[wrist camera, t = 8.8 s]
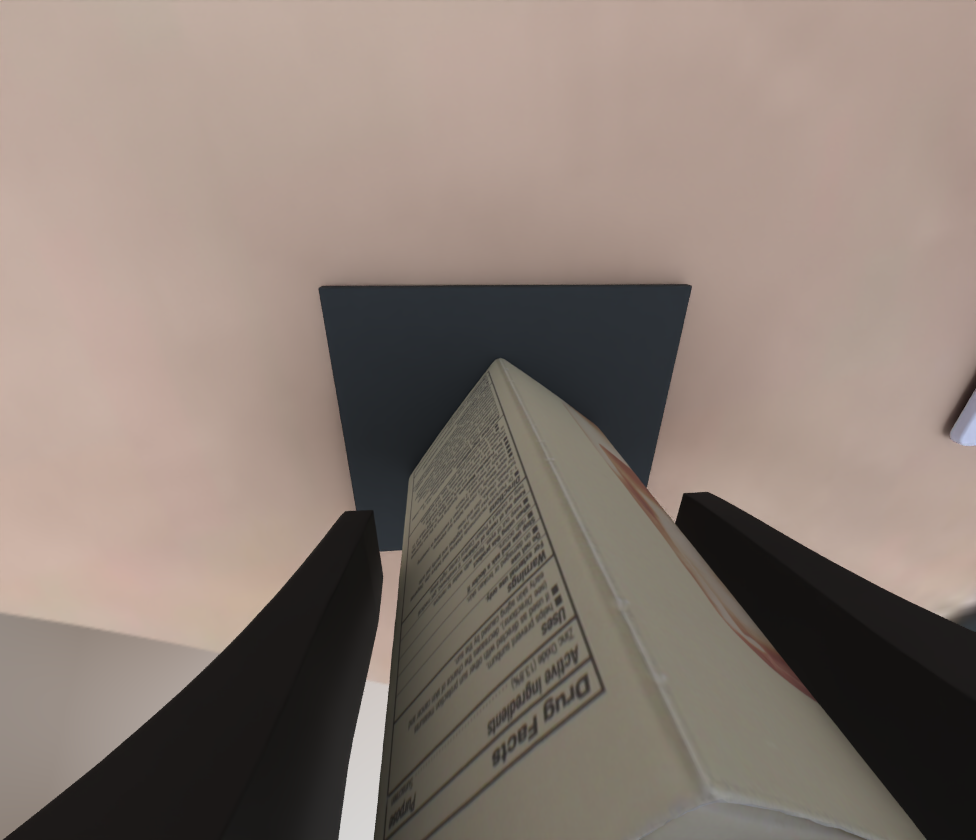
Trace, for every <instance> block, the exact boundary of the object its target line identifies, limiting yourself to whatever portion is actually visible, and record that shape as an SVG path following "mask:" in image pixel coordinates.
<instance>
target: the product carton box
mask: <svg viewBox="0 0 976 840" xmlns="http://www.w3.org/2000/svg"><path fill="white" fill-rule="evenodd" d="M374 840H926V838H925V837H924V836H923V834H922V833H921V832H920V831H919V829H918V828H917V827H916V825H915V824H914V823H913V821H912V820H911V819H910V818H909V816H908V815H907V814H906V812H905V811H904V810H903V809H902V807H901V806H900V805H899V804H898V802H897V801H896V800H895V799H894V797H893V796H892V795H891V794H890V792H889V791H888V790H887V789H886V787H885V786H884V785H883V784H882V782H881V781H880V780H879V779H878V777H877V776H876V775H875V774H874V772H873V771H872V770H871V769H870V767H869V766H868V765H867V764H866V762H865V761H864V760H863V759H862V757H861V756H860V755H859V754H858V752H857V751H856V750H855V748H854V747H853V746H852V745H851V743H850V742H849V741H848V740H847V738H846V737H845V736H844V734H843V733H842V732H841V731H840V729H839V728H838V727H837V726H836V724H835V723H834V722H833V721H832V719H831V718H830V717H829V716H828V715H827V713H826V712H825V711H824V710H823V708H822V707H821V706H820V705H819V703H818V702H817V701H816V700H815V698H814V697H813V696H812V695H811V693H810V692H809V691H808V690H807V688H806V687H805V686H804V685H803V683H802V682H801V681H800V680H799V678H798V677H797V676H796V675H795V673H794V672H793V671H792V670H791V668H790V667H789V666H788V665H787V663H786V662H785V661H784V660H783V658H782V657H781V656H780V654H779V653H778V652H777V651H776V649H775V648H774V647H773V646H772V644H771V643H770V642H769V641H768V639H767V638H766V637H765V636H764V634H763V633H762V632H761V631H760V629H759V628H758V627H757V625H756V624H755V623H754V622H753V620H752V619H751V618H750V617H749V615H748V614H747V613H746V612H745V610H744V609H743V608H742V607H741V605H740V604H739V603H738V602H737V600H736V599H735V598H734V597H733V595H732V594H731V593H730V592H729V590H728V589H727V588H726V587H725V585H724V584H723V583H722V582H721V580H720V579H719V578H718V577H717V576H716V574H715V573H714V572H713V571H712V569H711V568H710V567H709V565H708V564H707V563H706V562H705V560H704V559H703V558H702V557H701V555H700V554H699V553H698V552H697V550H696V549H695V548H694V546H693V545H692V544H691V543H690V542H689V540H688V539H687V538H686V537H685V536H684V534H683V533H682V532H681V531H680V529H679V528H678V527H677V526H676V524H675V523H674V522H673V520H672V519H671V518H670V517H669V515H668V514H667V513H666V512H665V511H664V509H663V508H662V507H661V506H660V505H659V503H658V502H657V501H656V500H655V498H654V497H653V496H652V495H651V493H650V492H649V491H648V490H647V488H646V487H645V486H644V485H643V483H642V482H641V481H640V479H639V478H638V477H637V476H636V474H635V473H634V472H633V471H632V469H631V468H630V467H629V466H628V464H627V463H626V462H625V461H624V459H623V458H622V457H621V456H620V454H619V453H618V452H617V451H616V449H615V448H614V447H613V445H612V444H611V443H610V442H609V440H608V439H607V438H606V436H605V435H604V434H603V433H602V431H601V430H600V429H599V428H598V427H597V426H596V425H595V424H594V423H593V422H591V421H590V420H588V419H587V418H586V417H584V416H583V415H582V414H581V413H579V412H578V411H577V410H575V409H574V408H573V407H571V406H570V405H569V404H567V403H566V402H565V401H563V400H562V399H560V398H559V397H558V396H556V395H555V394H554V393H552V392H551V391H549V390H548V389H547V388H545V387H544V386H542V385H541V384H540V383H538V382H537V381H535V380H534V379H532V378H531V377H530V376H528V375H527V374H525V373H524V372H522V371H521V370H519V369H518V368H517V367H515V366H514V365H512V364H511V363H509V362H508V361H506V360H505V359H502V358H499V359H496V360H495V361H494V362H493V363H492V364H491V365H490V367H489V368H488V369H487V371H486V372H485V373H484V375H483V376H482V377H481V379H480V380H479V381H478V382H477V384H476V385H475V386H474V387H473V389H472V390H471V391H470V393H469V394H468V396H467V397H466V398H465V400H464V401H463V402H462V403H461V405H460V406H459V407H458V409H457V410H456V412H455V413H454V414H453V416H452V417H451V418H450V420H449V421H448V423H447V424H446V425H445V427H444V428H443V429H442V431H441V432H440V433H439V435H438V436H437V438H436V439H435V441H434V442H433V443H432V445H431V446H430V448H429V449H428V451H427V452H426V453H425V455H424V456H423V458H422V459H421V461H420V462H419V464H418V465H417V467H416V468H415V470H414V471H413V473H412V474H411V476H410V478H409V484H408V495H407V506H406V515H405V526H404V535H403V546H402V558H401V569H400V577H399V588H398V600H397V610H396V619H395V629H394V641H393V649H392V659H391V671H390V684H389V692H388V704H387V712H386V722H385V733H384V741H383V753H382V764H381V772H380V783H379V794H378V805H377V814H376V823H375V832H374Z"/></svg>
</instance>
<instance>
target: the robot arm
mask: <svg viewBox="0 0 976 840" xmlns="http://www.w3.org/2000/svg"><path fill="white" fill-rule="evenodd" d="M950 439H951V440H952V441H954V442H956V443H958V444H961V445H964V446H976V389H975V391H974V392H973V394H972V396H971V397H970V399H969V401H968V402H967V404H966V406H965V408H964V409H963V411H962V413H961V414H960V416H959V418H958V419H957V421H956V423H955V424H954V426H953V428H952V430H951V432H950ZM675 524H676V526H677V527H678V528H679V529H680V531H681V532H682V533H683V534H684V536H685V537H686V538H687V539H688V540H689V542H690V543H691V544H692V545H693V546H694V548H695V549H696V550H697V552H698V553H699V554H700V555H701V557H702V558H703V559H704V560H705V562H706V563H707V564H708V565H709V567H710V568H711V569H712V571H713V572H714V573H715V574H716V576H717V577H718V578H719V579H720V580H721V582H722V583H723V584H724V585H725V587H726V588H727V589H728V590H729V592H730V593H731V594H732V595H733V597H734V598H735V599H736V600H737V602H738V603H739V604H740V605H741V607H742V608H743V609H744V610H745V612H746V613H747V614H748V615H749V617H750V618H751V619H752V620H753V622H754V623H755V624H756V625H757V627H758V628H759V629H760V631H761V632H762V633H763V634H764V636H765V637H766V638H767V639H768V641H769V642H770V643H771V644H772V646H773V647H774V648H775V649H776V651H777V652H778V653H779V654H780V656H781V657H782V658H783V660H784V661H785V662H786V663H787V665H788V666H789V667H790V668H791V670H792V671H793V672H794V673H795V675H796V676H797V677H798V678H799V680H800V681H801V682H802V683H803V685H804V686H805V687H806V688H807V690H808V691H809V692H810V693H811V695H812V696H813V697H814V698H815V700H816V701H817V702H818V703H819V705H820V706H821V707H822V708H823V710H824V711H825V712H826V713H827V715H828V716H829V717H830V718H831V719H832V721H833V722H834V723H835V724H836V726H837V727H838V728H839V729H840V731H841V732H842V733H843V734H844V736H845V737H846V738H847V740H848V741H849V742H850V743H851V745H852V746H853V747H854V748H855V750H856V751H857V752H858V754H859V755H860V756H861V757H862V759H863V760H864V761H865V762H866V764H867V765H868V766H869V767H870V769H871V770H872V771H873V772H874V774H875V775H876V776H877V777H878V779H879V780H880V781H881V782H882V784H883V785H884V786H885V787H886V789H887V790H888V791H889V792H890V794H891V795H892V796H893V797H894V799H895V800H896V801H897V802H898V804H899V805H900V806H901V807H902V809H903V810H904V811H905V812H906V814H907V815H908V816H909V818H910V819H911V820H912V821H913V823H914V824H915V825H916V827H917V828H918V829H919V831H920V832H921V833H922V834H923V836H924V837H925V838H926V840H976V632H974V631H971V630H969V629H967V628H965V627H962V626H960V625H958V624H956V623H954V622H952V621H949V620H947V619H945V618H943V617H941V616H939V615H937V614H935V613H932V612H930V611H928V610H926V609H924V608H922V607H920V606H918V605H915V604H913V603H911V602H909V601H907V600H905V599H903V598H901V597H899V596H897V595H895V594H893V593H891V592H889V591H887V590H885V589H883V588H881V587H879V586H877V585H875V584H873V583H871V582H870V581H868V580H866V579H864V578H862V577H860V576H858V575H856V574H854V573H852V572H851V571H849V570H847V569H845V568H843V567H841V566H839V565H838V564H836V563H834V562H832V561H830V560H828V559H827V558H825V557H823V556H821V555H819V554H818V553H816V552H814V551H812V550H811V549H809V548H807V547H805V546H803V545H802V544H800V543H798V542H796V541H795V540H793V539H791V538H789V537H788V536H786V535H784V534H783V533H781V532H779V531H777V530H776V529H774V528H772V527H770V526H769V525H767V524H765V523H764V522H762V521H760V520H758V519H757V518H755V517H753V516H752V515H750V514H748V513H746V512H745V511H743V510H741V509H739V508H738V507H736V506H734V505H732V504H730V503H729V502H727V501H725V500H723V499H721V498H719V497H717V496H715V495H713V494H711V493H709V492H698V493H684V494H683V497H682V501H681V504H680V508H679V512H678V515H677V519H676V522H675ZM382 584H383V572H382V565H381V558H380V552H379V545H378V538H377V531H376V524H375V518H374V511H373V510H361V511H345V512H344V513H343V514H342V515H341V516H340V517H339V519H338V520H337V521H336V522H335V524H334V525H333V526H332V528H331V529H330V530H329V531H328V533H327V534H326V535H325V537H324V538H323V539H322V540H321V542H320V543H319V544H318V545H317V547H316V548H315V549H314V550H313V552H312V553H311V554H310V555H309V557H308V558H307V559H306V560H305V561H304V563H303V564H302V565H301V566H300V567H299V569H298V570H297V571H296V572H295V573H294V574H293V576H292V577H291V578H290V579H289V580H288V582H287V583H286V584H285V585H284V586H283V587H282V589H281V590H280V591H279V592H278V593H277V594H276V595H275V597H274V598H273V599H272V600H271V601H270V602H269V603H268V604H267V605H266V606H265V607H264V608H263V610H262V611H261V612H260V613H259V614H258V615H257V616H256V617H255V618H254V619H253V620H252V621H251V622H250V624H249V625H248V626H247V627H246V628H245V629H244V630H243V631H242V632H241V633H240V634H239V635H238V636H237V637H236V638H235V639H234V640H233V641H232V642H231V643H230V644H229V645H228V646H227V647H226V648H225V650H224V651H223V652H222V653H221V654H219V655H218V656H217V657H216V659H214V660H213V661H212V662H211V663H210V664H209V665H208V666H207V667H206V668H205V669H204V670H203V671H202V672H201V673H200V674H199V675H198V676H197V677H196V678H195V679H194V680H192V682H190V683H189V684H188V685H187V686H186V687H185V688H184V689H183V690H182V691H181V692H180V693H179V694H177V695H176V696H175V697H174V698H173V699H172V700H171V701H170V702H169V703H167V704H166V705H165V706H164V707H163V708H162V709H161V710H159V711H158V712H157V713H156V714H155V715H154V716H153V717H152V718H151V719H150V720H148V721H147V722H146V723H145V724H144V725H143V726H141V727H140V728H139V729H138V730H137V731H136V732H135V733H133V734H132V735H131V736H130V737H129V738H127V739H126V740H125V741H124V742H123V743H122V744H121V745H120V746H118V747H117V748H116V749H115V750H114V751H112V752H111V753H110V754H109V755H108V756H107V757H106V758H105V759H103V760H102V761H101V762H100V763H98V764H97V765H96V766H95V767H94V768H92V769H91V770H90V771H89V772H87V773H86V774H85V775H84V776H82V777H81V778H80V779H79V780H78V781H76V782H75V783H74V784H72V785H71V786H70V787H69V788H67V789H66V790H65V791H64V792H62V793H61V794H60V795H59V796H57V797H56V798H55V799H54V800H52V801H51V802H50V803H49V804H47V805H46V806H45V807H44V808H43V809H41V810H40V811H39V812H37V813H36V814H35V815H34V816H32V817H31V818H30V819H29V820H28V821H26V822H25V823H24V824H23V825H21V826H20V827H18V828H17V829H16V830H15V831H13V832H12V833H11V834H9V835H8V836H7V837H6V838H4V839H3V840H338V837H339V830H340V822H341V814H342V808H343V800H344V792H345V786H346V778H347V771H348V764H349V759H350V753H351V748H352V742H353V737H354V732H355V728H356V723H357V719H358V714H359V709H360V705H361V701H362V696H363V691H364V687H365V682H366V678H367V673H368V669H369V664H370V660H371V655H372V650H373V646H374V641H375V636H376V631H377V627H378V622H379V613H380V604H381V594H382Z"/></svg>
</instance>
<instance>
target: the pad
mask: <svg viewBox="0 0 976 840" xmlns="http://www.w3.org/2000/svg"><path fill="white" fill-rule="evenodd" d="M691 288H692V286H690V285H687V284H653V285H444V286H321V287H320V288H319V294H320V300H321V306H322V312H323V318H324V323H325V329H326V335H327V341H328V347H329V353H330V359H331V364H332V370H333V376H334V382H335V388H336V394H337V400H338V405H339V411H340V417H341V423H342V429H343V435H344V441H345V446H346V452H347V458H348V464H349V470H350V476H351V482H352V487H353V493H354V499H355V505H356V511H361V510H373V511H374V518H375V524H376V531H377V538H378V545H379V551H395V550H402V546H403V535H404V526H405V515H406V506H407V495H408V484H409V478H410V476H411V474H412V473H413V471H414V470H415V468H416V467H417V465H418V464H419V462H420V461H421V459H422V458H423V456H424V455H425V453H426V452H427V451H428V449H429V448H430V446H431V445H432V443H433V442H434V441H435V439H436V438H437V436H438V435H439V433H440V432H441V431H442V429H443V428H444V427H445V425H446V424H447V423H448V421H449V420H450V418H451V417H452V416H453V414H454V413H455V412H456V410H457V409H458V407H459V406H460V405H461V403H462V402H463V401H464V400H465V398H466V397H467V396H468V394H469V393H470V391H471V390H472V389H473V387H474V386H475V385H476V384H477V382H478V381H479V380H480V379H481V377H482V376H483V375H484V373H485V372H486V371H487V369H488V368H489V367H490V365H491V364H492V363H493V362H494V361H495V360H496V359H499V358H502V359H505V360H506V361H508V362H509V363H511V364H512V365H514V366H515V367H517V368H518V369H519V370H521V371H522V372H524V373H525V374H527V375H528V376H530V377H531V378H532V379H534V380H535V381H537V382H538V383H540V384H541V385H542V386H544V387H545V388H547V389H548V390H549V391H551V392H552V393H554V394H555V395H556V396H558V397H559V398H560V399H562V400H563V401H565V402H566V403H567V404H569V405H570V406H571V407H573V408H574V409H575V410H577V411H578V412H579V413H581V414H582V415H583V416H584V417H586V418H587V419H588V420H590V421H591V422H593V423H594V424H595V425H596V426H597V427H598V428H599V429H600V430H601V431H602V433H603V434H604V435H605V436H606V438H607V439H608V440H609V442H610V443H611V444H612V445H613V447H614V448H615V449H616V451H617V452H618V453H619V454H620V456H621V457H622V458H623V459H624V461H625V462H626V463H627V464H628V466H629V467H630V468H631V469H632V471H633V472H634V473H635V474H636V476H637V477H638V478H639V479H640V481H641V482H642V483H643V485H644V486H645V487H646V488H647V484H648V479H649V475H650V470H651V466H652V461H653V457H654V453H655V448H656V444H657V439H658V435H659V430H660V426H661V422H662V417H663V413H664V408H665V404H666V399H667V395H668V390H669V386H670V382H671V377H672V373H673V368H674V364H675V359H676V355H677V351H678V346H679V342H680V337H681V333H682V328H683V324H684V319H685V315H686V311H687V306H688V302H689V297H690V293H691Z"/></svg>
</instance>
